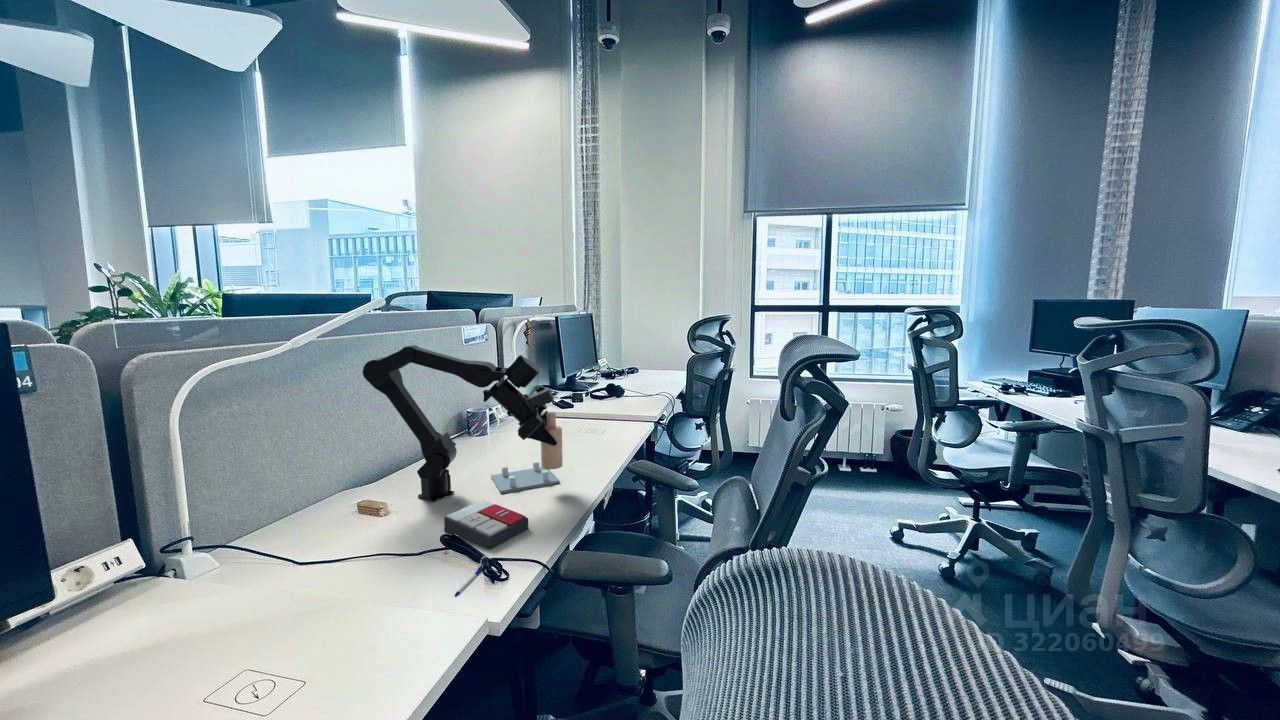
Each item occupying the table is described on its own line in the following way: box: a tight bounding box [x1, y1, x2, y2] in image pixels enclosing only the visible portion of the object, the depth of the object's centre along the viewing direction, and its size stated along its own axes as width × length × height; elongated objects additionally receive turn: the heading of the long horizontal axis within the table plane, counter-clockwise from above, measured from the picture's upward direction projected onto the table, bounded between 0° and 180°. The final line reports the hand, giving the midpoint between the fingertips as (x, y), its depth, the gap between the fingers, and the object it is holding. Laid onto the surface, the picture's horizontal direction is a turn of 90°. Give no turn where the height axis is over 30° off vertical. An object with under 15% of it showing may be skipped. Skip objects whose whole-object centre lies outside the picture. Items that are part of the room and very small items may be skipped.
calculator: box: [443, 500, 529, 550], centre depth 109 cm, size 11×4×15 cm
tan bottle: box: [540, 412, 564, 470], centre depth 130 cm, size 6×6×14 cm
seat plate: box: [490, 460, 561, 495], centre depth 139 cm, size 16×13×3 cm
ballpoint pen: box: [454, 564, 483, 597], centre depth 90 cm, size 10×1×1 cm, turn 169°
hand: (556, 441), depth 130 cm, fingers closed on tan bottle, 5 cm apart
